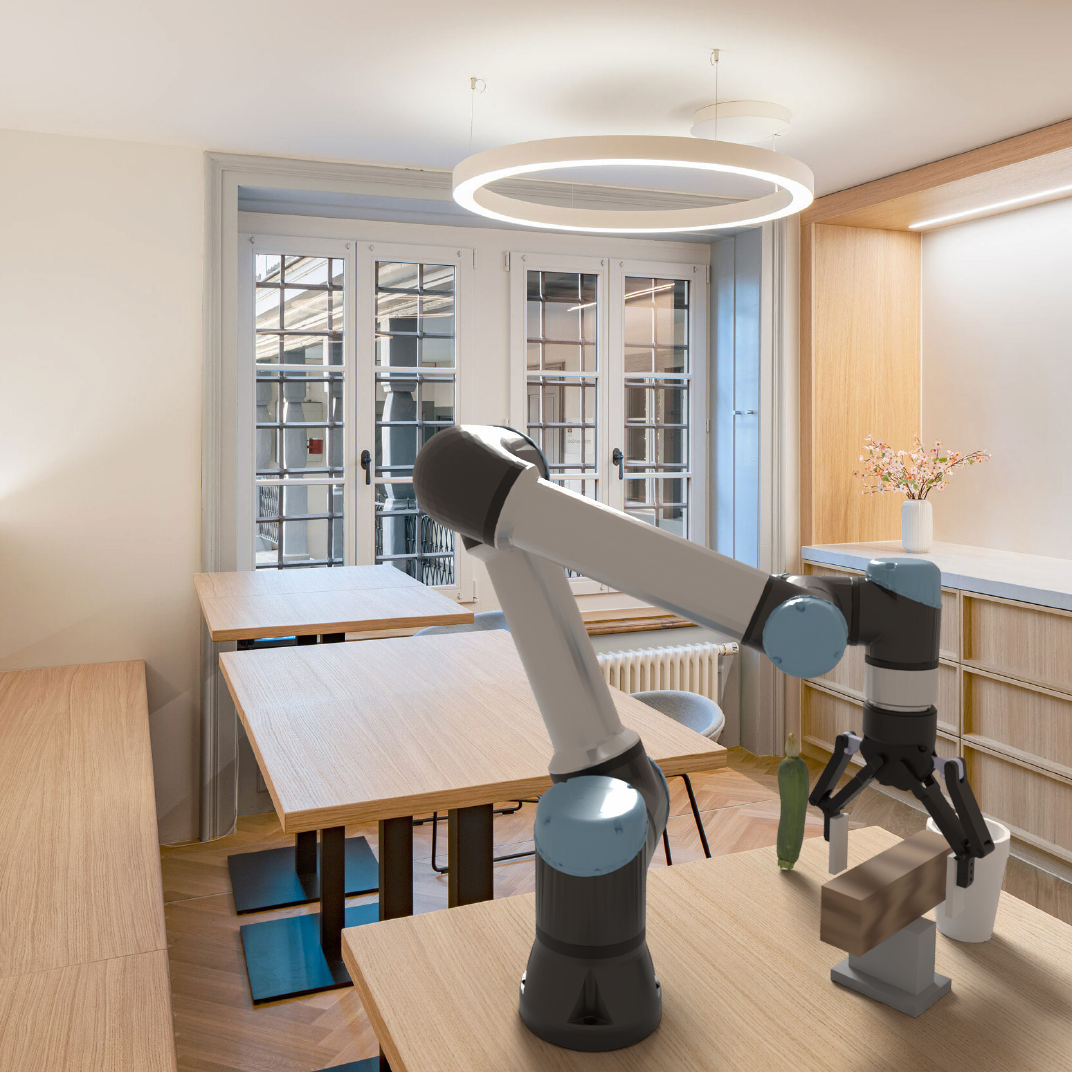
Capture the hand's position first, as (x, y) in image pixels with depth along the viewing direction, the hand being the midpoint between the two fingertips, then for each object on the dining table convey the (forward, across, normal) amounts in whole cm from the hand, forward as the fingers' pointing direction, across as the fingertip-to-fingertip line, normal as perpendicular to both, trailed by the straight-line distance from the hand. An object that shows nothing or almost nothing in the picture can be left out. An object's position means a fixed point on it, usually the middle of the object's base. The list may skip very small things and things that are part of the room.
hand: (893, 891), depth 106 cm
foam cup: (+11, 0, -18) cm, 21 cm away
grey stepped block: (+11, 0, 0) cm, 11 cm away
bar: (+3, 0, 0) cm, 3 cm away
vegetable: (+11, +24, -17) cm, 31 cm away
